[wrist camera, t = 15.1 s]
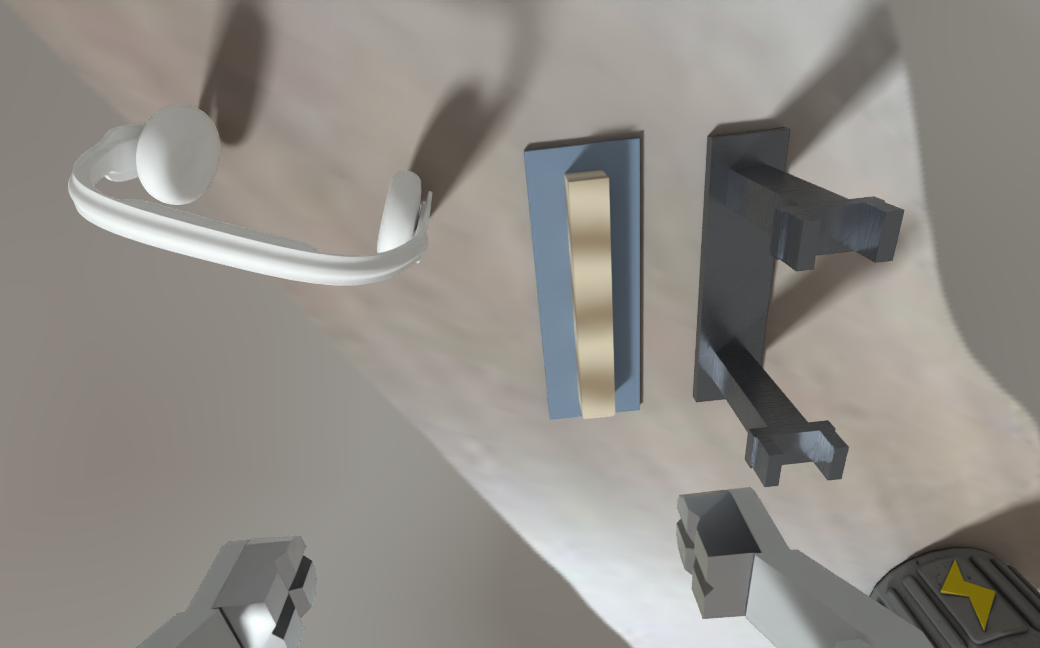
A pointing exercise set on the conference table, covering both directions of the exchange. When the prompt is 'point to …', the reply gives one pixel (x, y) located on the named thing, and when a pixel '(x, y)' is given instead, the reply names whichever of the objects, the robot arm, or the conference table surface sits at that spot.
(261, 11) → the conference table surface
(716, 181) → the hook rack
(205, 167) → the headset
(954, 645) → the decorative lamp
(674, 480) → the conference table surface
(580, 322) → the rail
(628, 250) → the mat
